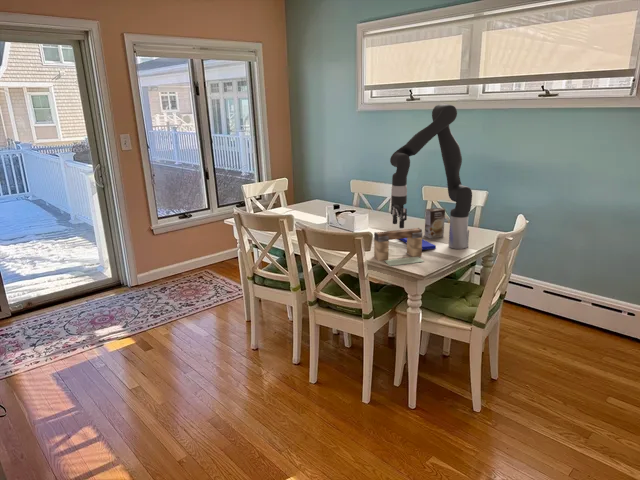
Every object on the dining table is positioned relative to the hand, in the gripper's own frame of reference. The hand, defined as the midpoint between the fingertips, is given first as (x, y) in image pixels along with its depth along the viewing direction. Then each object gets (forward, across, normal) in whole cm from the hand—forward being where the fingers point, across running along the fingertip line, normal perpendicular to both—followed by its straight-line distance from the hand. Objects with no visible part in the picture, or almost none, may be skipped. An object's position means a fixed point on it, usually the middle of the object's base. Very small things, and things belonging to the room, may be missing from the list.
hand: (398, 225), depth 223 cm
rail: (+6, 0, 0) cm, 6 cm away
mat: (+16, -8, 0) cm, 18 cm away
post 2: (+16, 0, -9) cm, 19 cm away
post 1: (+16, 0, +9) cm, 19 cm away
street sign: (+17, +21, -17) cm, 32 cm away
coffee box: (+16, +25, -33) cm, 45 cm away
